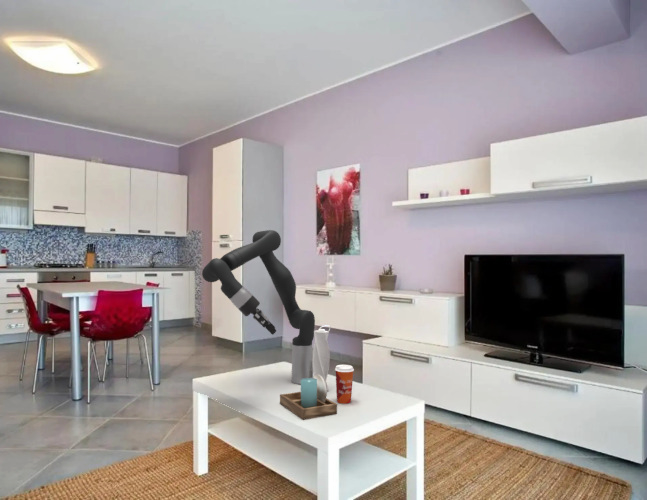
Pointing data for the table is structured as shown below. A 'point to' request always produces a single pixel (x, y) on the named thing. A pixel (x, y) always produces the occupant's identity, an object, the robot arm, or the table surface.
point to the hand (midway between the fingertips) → (274, 331)
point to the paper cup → (344, 383)
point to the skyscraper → (321, 354)
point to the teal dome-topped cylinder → (308, 392)
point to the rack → (323, 407)
